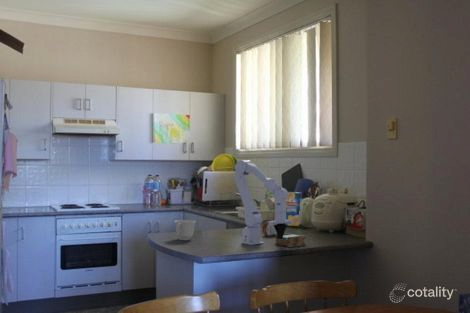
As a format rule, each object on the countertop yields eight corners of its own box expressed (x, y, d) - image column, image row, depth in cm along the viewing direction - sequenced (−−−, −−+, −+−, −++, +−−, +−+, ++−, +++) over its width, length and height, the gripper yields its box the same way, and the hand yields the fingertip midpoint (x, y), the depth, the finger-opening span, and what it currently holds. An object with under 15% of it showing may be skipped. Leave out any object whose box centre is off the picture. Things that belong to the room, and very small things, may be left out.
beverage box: (299, 226, 340) (300, 193, 341) (283, 225, 344) (284, 192, 344) (301, 224, 347) (302, 192, 347) (285, 224, 351) (286, 191, 351)
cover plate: (288, 240, 260) (288, 238, 260) (277, 238, 266) (277, 236, 266) (303, 238, 267) (303, 236, 267) (292, 236, 273) (292, 234, 273)
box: (288, 247, 259) (288, 237, 259) (274, 244, 266) (275, 234, 266) (305, 244, 266) (305, 235, 266) (291, 242, 274) (291, 232, 274)
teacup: (167, 241, 272) (167, 222, 272) (179, 237, 286) (180, 219, 286) (187, 242, 268) (188, 223, 268) (199, 238, 282) (199, 220, 282)
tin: (276, 233, 306) (276, 219, 306) (281, 234, 304) (281, 219, 304) (261, 236, 294) (261, 221, 294) (266, 236, 292) (266, 222, 292)
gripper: (275, 213, 254) (275, 240, 254) (296, 211, 263) (295, 238, 263) (266, 212, 260) (265, 239, 260) (286, 210, 269) (286, 236, 269)
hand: (280, 238), depth 262 cm, fingers closed
